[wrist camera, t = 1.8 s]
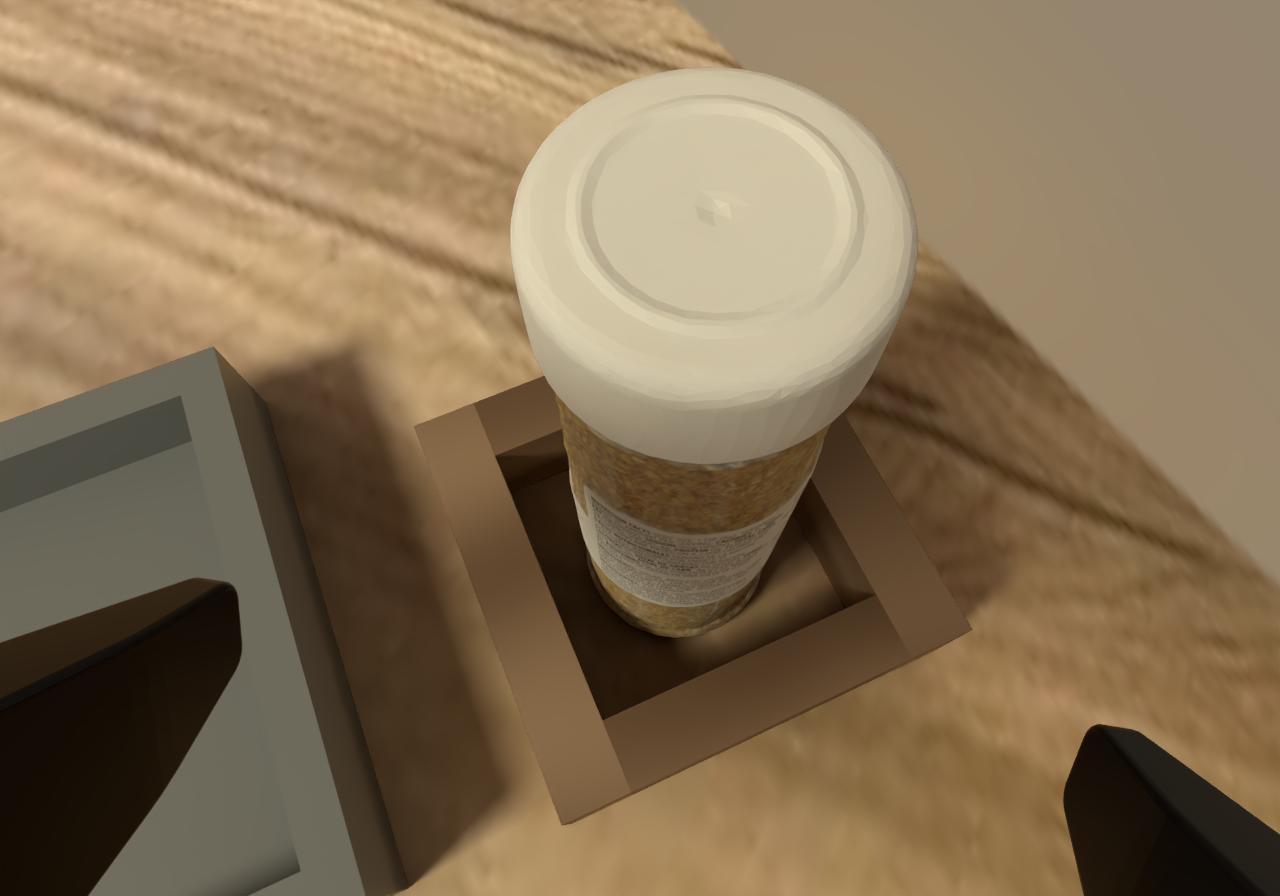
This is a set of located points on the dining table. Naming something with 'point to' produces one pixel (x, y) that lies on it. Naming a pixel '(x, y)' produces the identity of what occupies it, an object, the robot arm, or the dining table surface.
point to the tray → (269, 615)
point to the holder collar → (720, 699)
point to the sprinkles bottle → (704, 319)
